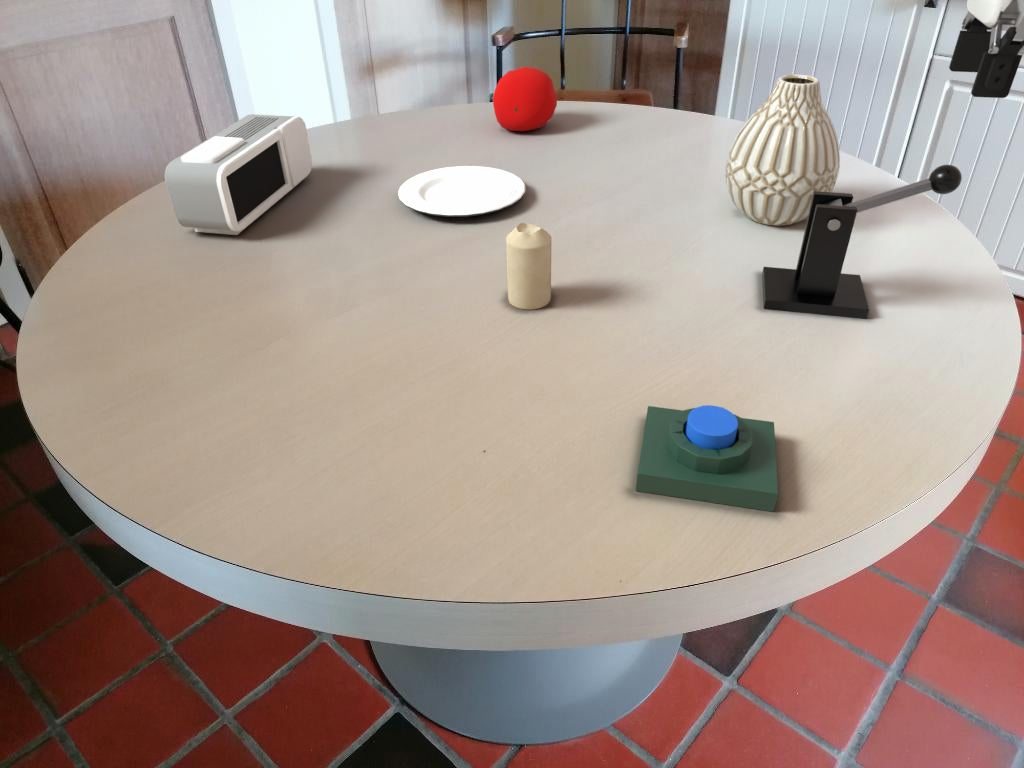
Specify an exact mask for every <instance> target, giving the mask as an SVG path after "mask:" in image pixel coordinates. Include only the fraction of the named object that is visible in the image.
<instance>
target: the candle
mask: <svg viewBox="0 0 1024 768" xmlns="http://www.w3.org/2000/svg"><path fill="white" fill-rule="evenodd" d="M552 238H553V237H552V235H551V234H550V233H549V232H548V231H547V230H545V229H544V228H543V227H540V226H536V225H534V224H532V223H525V222H520V223H518V224H517V225H516V227H514V228H513V230H512V231H510V232H509V233H508V234H507V236H506V238H505V239H506V240H505V243H506V275H507V277H506V279H507V299H508V302H509V304H510V305H512V307H515V308H517V309H520V310H536V309H541V308H544V307H546V306H548V305H549V303H550V302H551V299H552V246H553V245H552V242H553V241H552Z"/></svg>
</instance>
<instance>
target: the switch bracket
mask: <svg viewBox="0 0 1024 768" xmlns="http://www.w3.org/2000/svg"><path fill="white" fill-rule="evenodd" d="M837 199H841V201H842V205H845V204H849V203H852V202H853V200H854V195H853V193H850V192H849V193H847V192H833V191H832V192H819V191H814V192H813V197H812V201H811V205H810V210H809V214H808V217H807V218H806V223H805V229H804V233H803V237H802V241H801V245H800V250H799V255H798V258H797V264H796V267H795V268H786V267H785V268H784V267H773V266H763V268H762V273H761V283H762V304H763V309H765V310H772V311H784V312H795V313H803V314H805V313H806V314H813V315H814V314H815V315H824V316H825V315H826V316H833V317H844V318H853V319H854V318H855V319H864V320H865V319H866V320H867V319H868V316H869V313H870V307H869V303H868V300H867V296H866V293H865V292H866V291H865V288H864V285H863V281H862V277H861V275H860V274H853V273H842V270H843V267H844V263H845V259H846V256H847V251H848V249H849V248H848V247H849V244H850V241H851V236H852V233H853V229H854V225H855V221H856V217H857V214H858V213H857V208H856V207H849V206H835V205H822V204H825V203H828V202H831V201H834V200H837Z"/></svg>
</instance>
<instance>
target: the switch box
mask: <svg viewBox="0 0 1024 768" xmlns="http://www.w3.org/2000/svg"><path fill="white" fill-rule="evenodd" d="M695 408H696V407H691V408H687V409H683V410H682V409H675V408H666V407H658V406H651V405H648V406H647V410H646V416H645V422H644V428H643V435H642V441H641V446H640V447H641V448H640V453H639V458H638V459H639V460H638V465H637V472H636V481H635V492H640V493H647V494H653V495H660V496H667V497H674V498H680V499H686V500H693V501H699V502H700V501H701V502H707V503H714V504H721V505H727V506H733V507H739V508H740V507H741V508H745V509H746V508H747V509H753V510H760V511H766V512H774V511H775V507H776V504H777V501H778V495H779V487H778V485H779V484H778V468H777V451H776V450H777V449H776V434H775V431H776V430H775V422H774V421H769V420H761V419H753V418H746V417H745V418H744V417H741V416H739V415H736V414H734V415H735V417H736V418H737V421H738V428H737V433H736V438H735V441H734V443H733V444H732V445H731V446H730V447H728V448H725V449H721V450H711V449H704V448H701V447H699V446H697V445H695V444H693V443H692V442H690V440H689V439H688V438H687V435H686V427H687V420H688V415H689V413H690V412H691V411H692V410H693V409H695Z"/></svg>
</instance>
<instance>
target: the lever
mask: <svg viewBox="0 0 1024 768" xmlns="http://www.w3.org/2000/svg"><path fill="white" fill-rule="evenodd" d="M962 176H963V175H962V172H961V170H960V169H959V168H958V167H957V166H955V165H953V164H942V165H939V166H937V167H936V168H935V169H933V170H932V171H931V173H930V174H929V177H928V178H925V179H922V180H919V181H916V182H913V183H910V184H907V185H903V186H899V187H896V188H894V189H890V190H888V191H884V192H880V193H877V194H875V195H871V196H868V197H865V198H861V199H859V200H854V201H852V203H849V204H845V205H842V201H841V199H837V200H834V201H831V202H828V203H825V204H822V205H835V206H849V207H856V208H857V214H858V213H861V212H864V211H867V210H871V209H874V208H876V207H877V208H878V207H880V206H883V205H887V204H890V203H893V202H898V201H900V200H903V199H906V198H908V197H909V198H910V197H912V196H917V195H919V194H922V193H926V192H930V191H932V192H934V193H936V194H938V195H948V194H951V193H953V192H955V191H956V190H957V189H958V188H959V186H960V185H961V184H962V179H963V177H962Z"/></svg>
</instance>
